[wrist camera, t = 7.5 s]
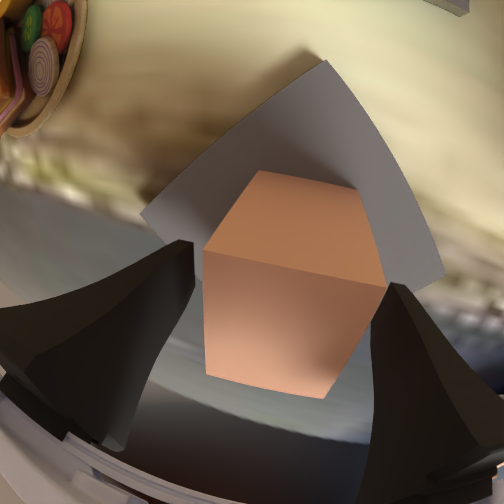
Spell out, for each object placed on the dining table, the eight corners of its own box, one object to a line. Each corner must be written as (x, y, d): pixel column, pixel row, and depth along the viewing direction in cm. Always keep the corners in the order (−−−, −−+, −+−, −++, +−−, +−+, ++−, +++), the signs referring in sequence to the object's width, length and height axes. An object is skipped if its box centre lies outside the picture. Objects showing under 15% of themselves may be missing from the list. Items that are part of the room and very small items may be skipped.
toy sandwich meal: (112, 92, 11) (41, 107, 7) (6, 156, 15) (-37, 179, 11) (97, -65, 5) (44, -79, 1) (-9, 35, 9) (-51, 44, 5)
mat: (440, 263, 12) (446, 275, 11) (274, 338, 17) (271, 350, 17) (325, 62, 9) (326, 59, 8) (149, 206, 14) (139, 214, 13)
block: (258, 170, 11) (202, 249, 6) (357, 190, 10) (387, 287, 5) (247, 270, 14) (206, 373, 9) (328, 287, 13) (323, 398, 8)
